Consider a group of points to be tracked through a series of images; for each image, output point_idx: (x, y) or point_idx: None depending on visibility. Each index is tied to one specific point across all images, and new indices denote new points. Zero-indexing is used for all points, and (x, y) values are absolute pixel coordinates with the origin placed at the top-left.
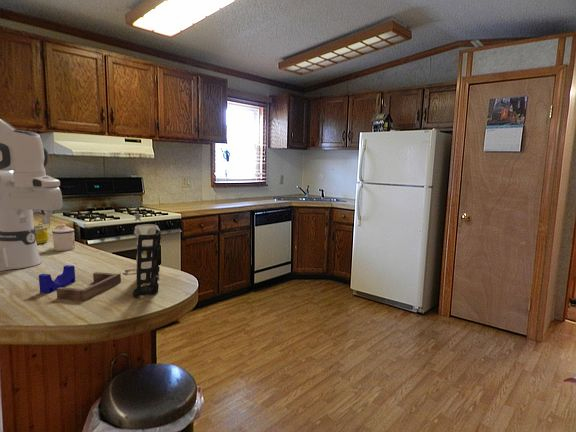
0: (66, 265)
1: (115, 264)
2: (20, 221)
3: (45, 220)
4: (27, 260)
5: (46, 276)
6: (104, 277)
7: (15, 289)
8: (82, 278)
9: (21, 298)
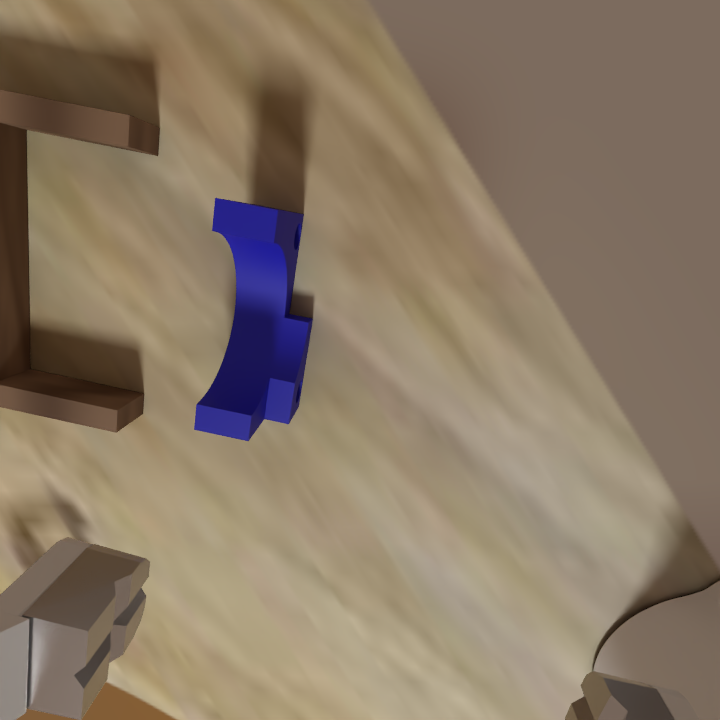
0: (244, 433)
1: (205, 655)
2: (645, 695)
3: (26, 576)
4: (644, 663)
5: (221, 199)
6: (62, 388)
7: (469, 264)
8: (230, 445)
9: (343, 116)
